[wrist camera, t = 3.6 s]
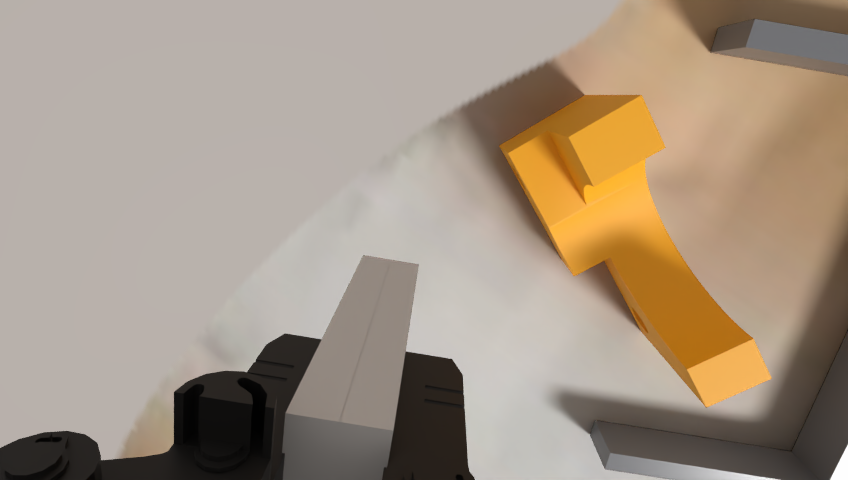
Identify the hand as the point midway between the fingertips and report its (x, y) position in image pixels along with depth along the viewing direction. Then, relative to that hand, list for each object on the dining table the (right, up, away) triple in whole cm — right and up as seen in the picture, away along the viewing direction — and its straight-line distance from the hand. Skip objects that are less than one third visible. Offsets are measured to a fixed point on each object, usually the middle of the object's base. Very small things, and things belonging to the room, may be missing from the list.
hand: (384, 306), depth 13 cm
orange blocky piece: (+9, +2, +10) cm, 14 cm away
